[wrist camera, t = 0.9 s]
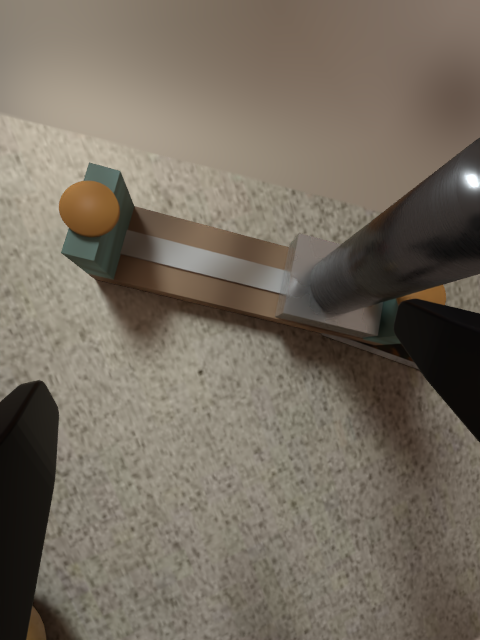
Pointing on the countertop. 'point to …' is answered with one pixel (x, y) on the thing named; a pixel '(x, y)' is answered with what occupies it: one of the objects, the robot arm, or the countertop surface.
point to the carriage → (388, 254)
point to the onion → (36, 627)
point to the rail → (185, 256)
